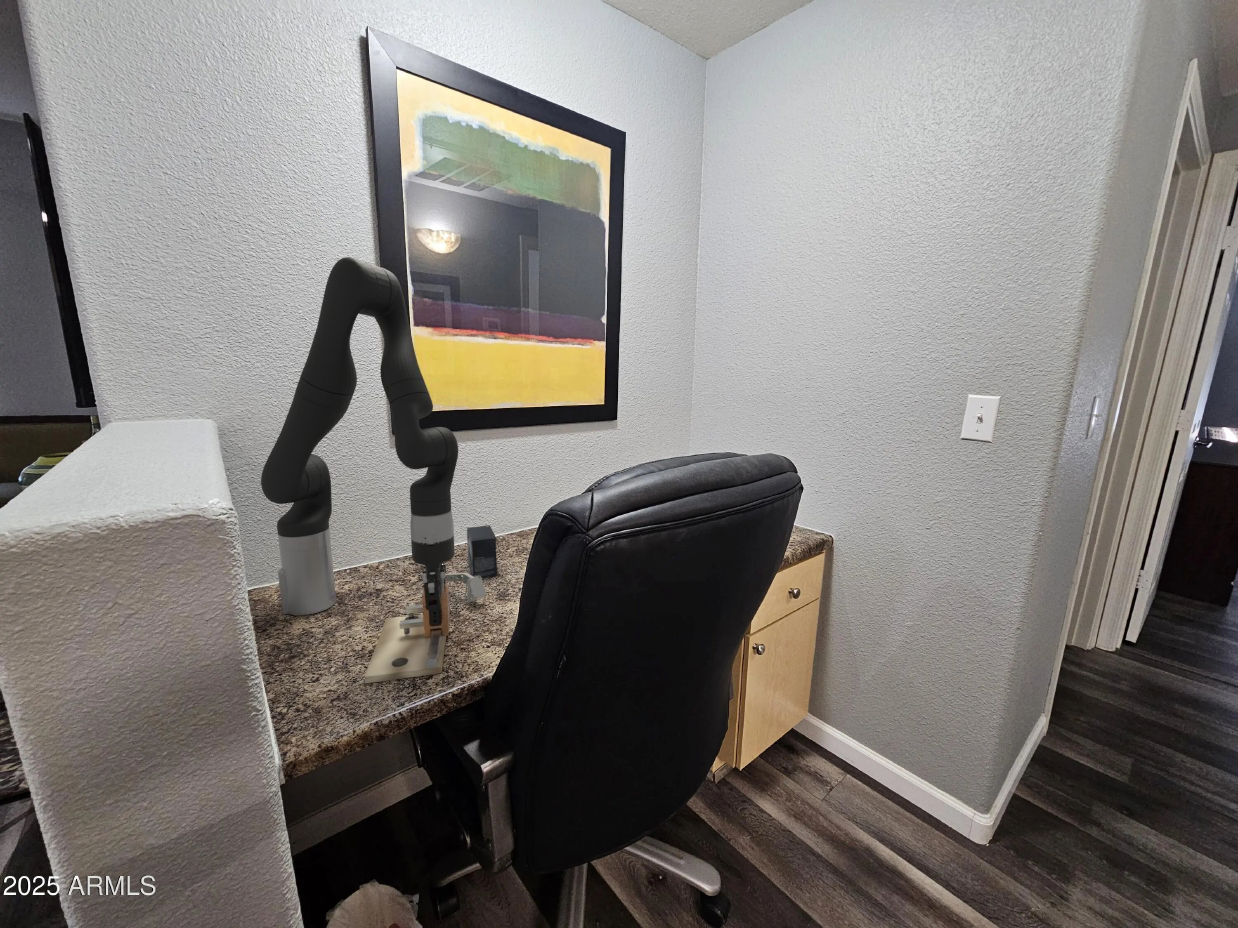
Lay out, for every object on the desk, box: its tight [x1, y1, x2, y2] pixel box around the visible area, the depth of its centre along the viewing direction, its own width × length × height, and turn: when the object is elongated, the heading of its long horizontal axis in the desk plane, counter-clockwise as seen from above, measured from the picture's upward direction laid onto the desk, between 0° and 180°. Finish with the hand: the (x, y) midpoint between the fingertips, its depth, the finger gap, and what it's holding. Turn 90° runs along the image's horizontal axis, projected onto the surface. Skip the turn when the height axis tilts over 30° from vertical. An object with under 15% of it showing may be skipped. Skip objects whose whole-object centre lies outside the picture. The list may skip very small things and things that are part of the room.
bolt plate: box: [363, 613, 447, 684], centre depth 92 cm, size 12×20×1 cm, turn 16°
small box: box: [466, 524, 499, 579], centre depth 126 cm, size 11×6×10 cm, turn 23°
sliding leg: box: [399, 583, 451, 637], centre depth 93 cm, size 9×4×9 cm, turn 106°
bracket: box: [419, 572, 487, 604], centre depth 114 cm, size 3×21×10 cm, turn 53°
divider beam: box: [405, 604, 442, 669], centre depth 92 cm, size 8×20×3 cm, turn 16°
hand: (437, 617), depth 94 cm, fingers open, 4 cm apart
